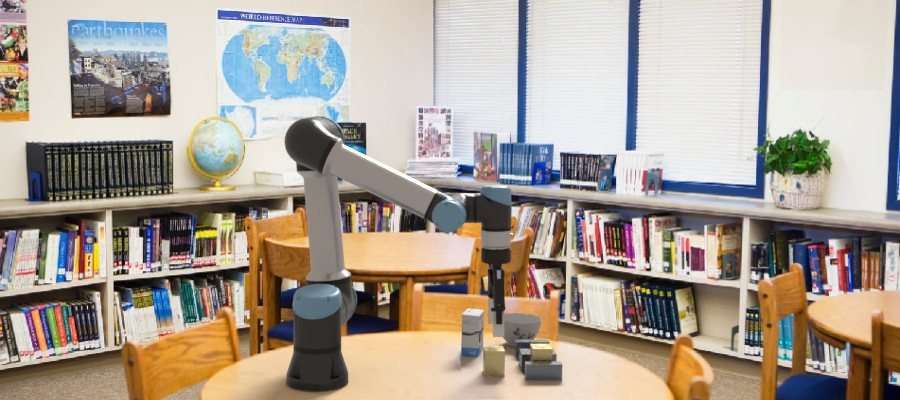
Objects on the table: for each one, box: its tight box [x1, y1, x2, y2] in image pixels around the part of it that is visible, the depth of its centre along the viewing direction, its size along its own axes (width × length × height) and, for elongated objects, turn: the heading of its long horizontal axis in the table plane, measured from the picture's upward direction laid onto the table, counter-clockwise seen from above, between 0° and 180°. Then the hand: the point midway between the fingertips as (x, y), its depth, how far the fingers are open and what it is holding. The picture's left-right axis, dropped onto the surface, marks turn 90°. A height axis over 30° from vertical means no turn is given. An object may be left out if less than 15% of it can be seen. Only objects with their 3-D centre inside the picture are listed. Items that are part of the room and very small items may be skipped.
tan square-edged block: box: [482, 345, 506, 377], centre depth 251 cm, size 5×5×7 cm
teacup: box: [502, 312, 542, 347], centre depth 282 cm, size 15×12×8 cm
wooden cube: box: [530, 343, 554, 361], centre depth 252 cm, size 5×5×7 cm
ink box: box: [460, 308, 485, 358], centre depth 270 cm, size 8×5×12 cm, turn 168°
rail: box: [514, 339, 563, 381], centre depth 258 cm, size 9×24×4 cm, turn 3°
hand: (495, 330), depth 250 cm, fingers open, 13 cm apart
